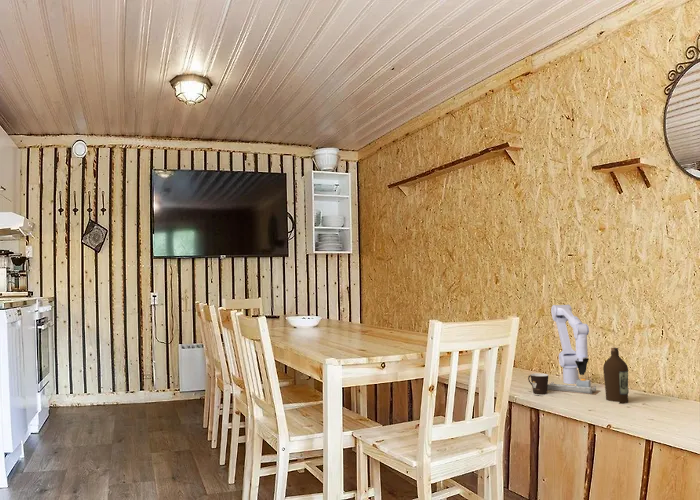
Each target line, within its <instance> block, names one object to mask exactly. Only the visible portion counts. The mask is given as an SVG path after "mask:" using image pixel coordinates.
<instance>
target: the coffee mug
mask: <svg viewBox="0 0 700 500" xmlns="http://www.w3.org/2000/svg"><path fill="white" fill-rule="evenodd" d="M527 380H528V383H529V384H530V385H531V386H532V393H533V395H534V396H536V397H540V396H545V395H547V394H548V390H547V387H548V384H549V374H547V373H536V372H535V373H530V375H528V377H527Z"/></svg>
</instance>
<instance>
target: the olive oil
mask: <svg viewBox="0 0 700 500" xmlns="http://www.w3.org/2000/svg"><path fill="white" fill-rule="evenodd" d="M602 369H603V377H604V378H603V379H604V388H605V389H604V390H605V399H606V401H609V402H615V403H618V404H627V403H629V393H630V392H629V367H628V365H627V363H626V362H625V361H624V359H622V358H621V357H620V351H619V347H611V348H610V356H609V358H608V359H606V361H605V362H604V364H603V367H602Z"/></svg>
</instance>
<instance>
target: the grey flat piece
mask: <svg viewBox="0 0 700 500" xmlns="http://www.w3.org/2000/svg"><path fill="white" fill-rule="evenodd" d="M550 390H555V391H554V392H560V391H565V392H564V393H570V392H575V393H574V394H580V393H585V394H584V395H590V394H593V393H594V392H595V391H597V386H595V385H593V386H591V387H583V386H577V385H573V384H560V383H559V384H558V383H554V382H553V381H551V382H550V383H549V382H548V387H547V391H550Z"/></svg>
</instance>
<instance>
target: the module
mask: <svg viewBox="0 0 700 500" xmlns="http://www.w3.org/2000/svg"><path fill="white" fill-rule="evenodd" d="M591 381H592V380H590V379H586V378H579V379H578V380H576V383H577V384H576V386H583V387H592V386H591V383H592V382H591Z"/></svg>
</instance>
